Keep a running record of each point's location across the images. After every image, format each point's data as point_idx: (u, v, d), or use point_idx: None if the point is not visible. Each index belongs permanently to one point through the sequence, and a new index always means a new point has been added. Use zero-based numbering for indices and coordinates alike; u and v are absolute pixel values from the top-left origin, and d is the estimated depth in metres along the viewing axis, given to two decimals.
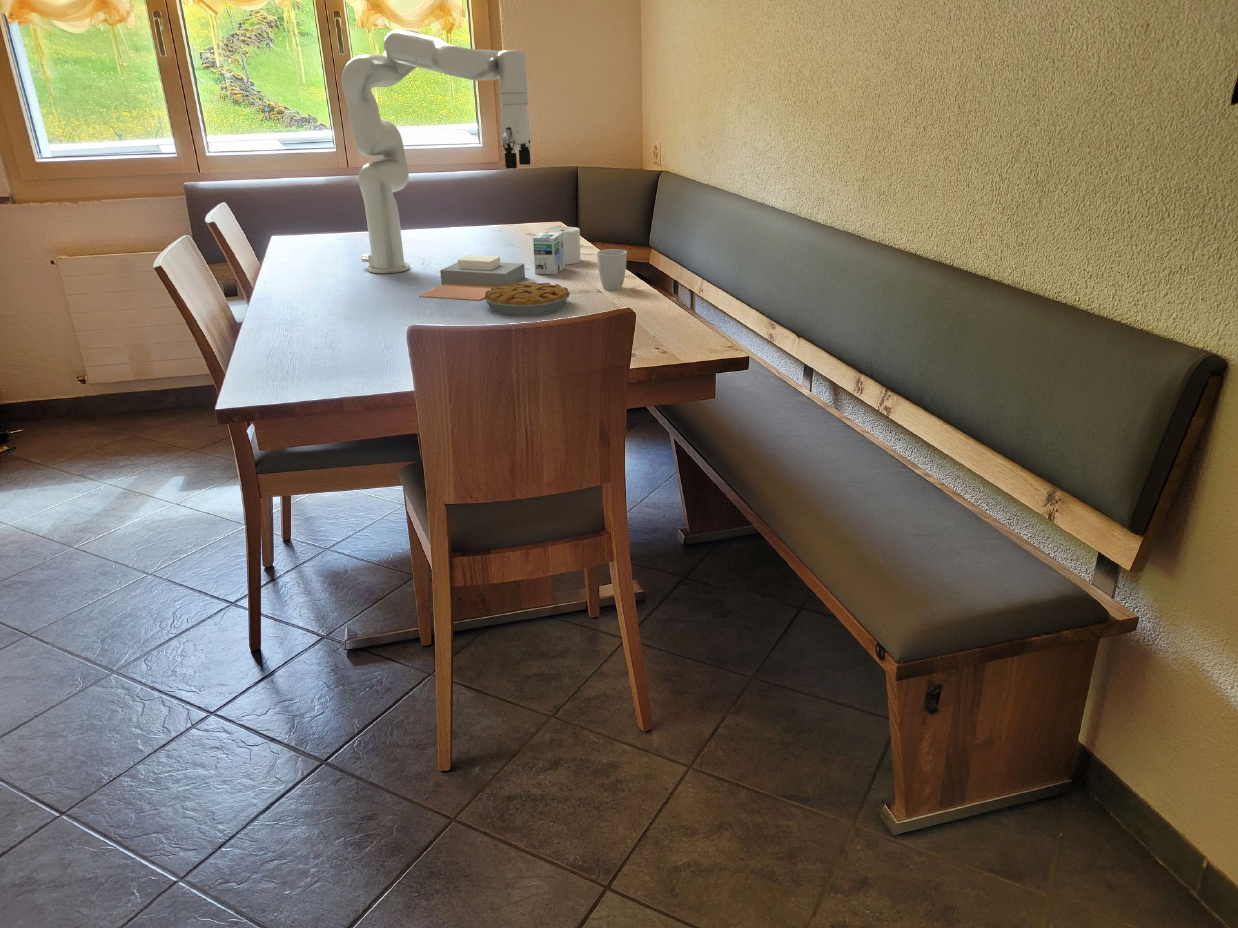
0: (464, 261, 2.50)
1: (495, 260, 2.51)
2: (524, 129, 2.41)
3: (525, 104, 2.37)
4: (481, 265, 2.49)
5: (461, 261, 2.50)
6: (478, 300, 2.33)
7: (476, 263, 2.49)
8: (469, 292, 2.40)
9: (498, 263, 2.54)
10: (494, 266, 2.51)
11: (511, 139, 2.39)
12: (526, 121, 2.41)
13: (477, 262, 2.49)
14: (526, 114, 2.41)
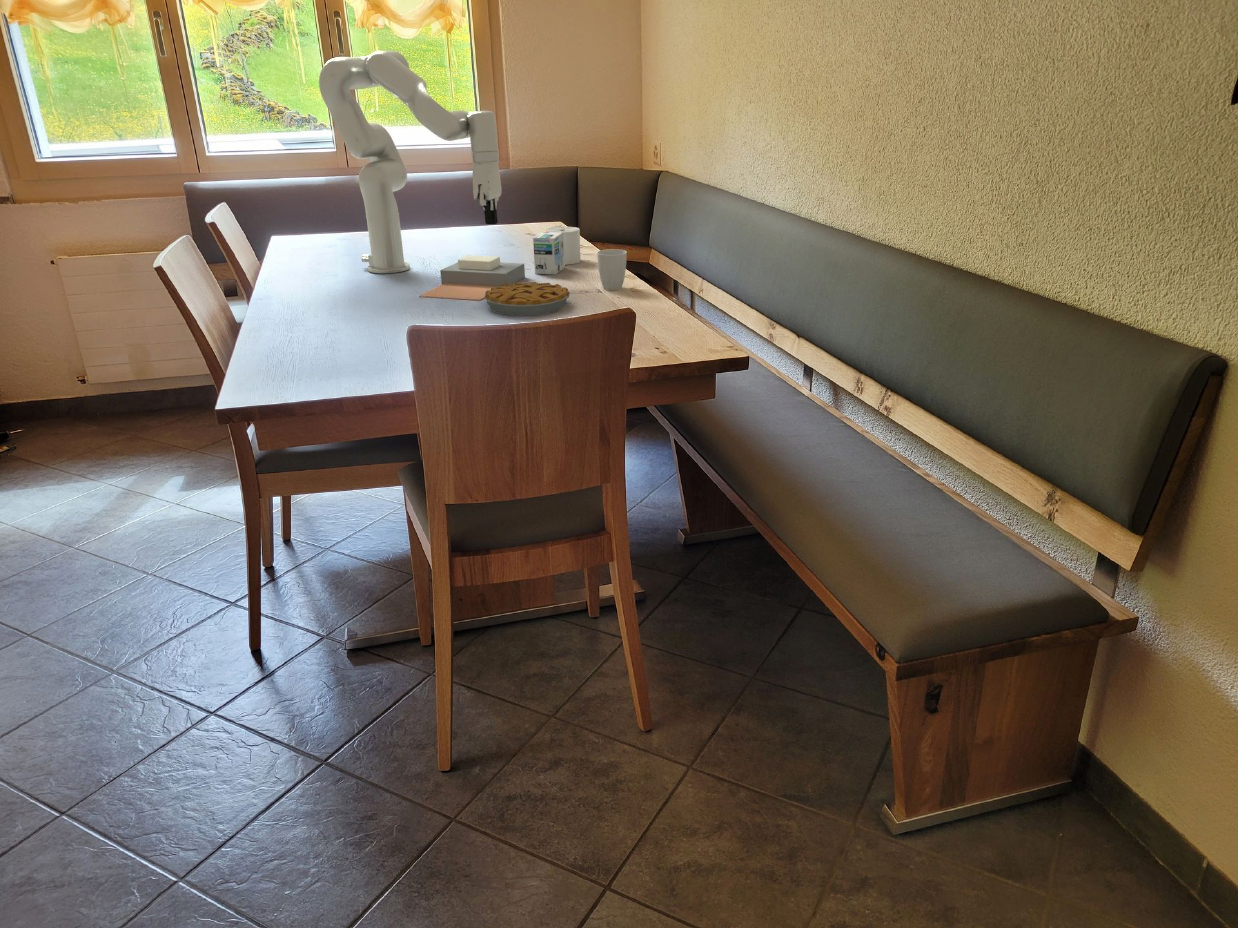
0: (464, 261, 2.50)
1: (495, 260, 2.51)
2: (496, 184, 2.52)
3: (496, 161, 2.48)
4: (481, 265, 2.49)
5: (461, 261, 2.50)
6: (478, 300, 2.33)
7: (476, 263, 2.49)
8: (469, 292, 2.40)
9: (498, 263, 2.54)
10: (494, 266, 2.51)
11: None
12: (497, 177, 2.52)
13: (477, 262, 2.49)
14: (497, 170, 2.52)
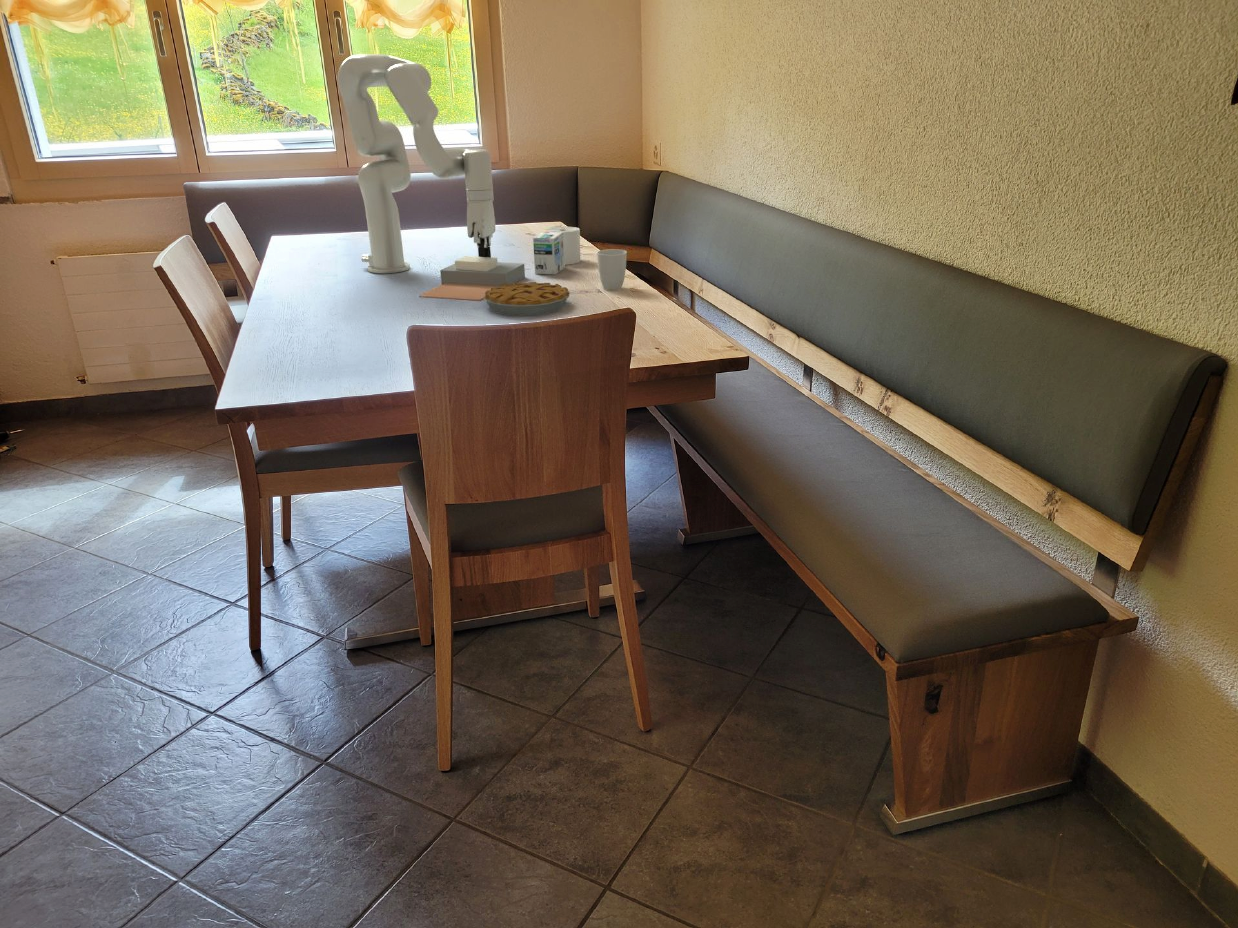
0: (461, 262, 2.49)
1: (492, 261, 2.50)
2: (490, 222, 2.51)
3: (490, 200, 2.47)
4: (478, 266, 2.48)
5: (458, 262, 2.49)
6: (478, 300, 2.33)
7: (473, 264, 2.48)
8: (469, 292, 2.40)
9: (495, 264, 2.52)
10: (491, 267, 2.50)
11: None
12: (492, 214, 2.52)
13: (474, 263, 2.48)
14: (492, 208, 2.52)
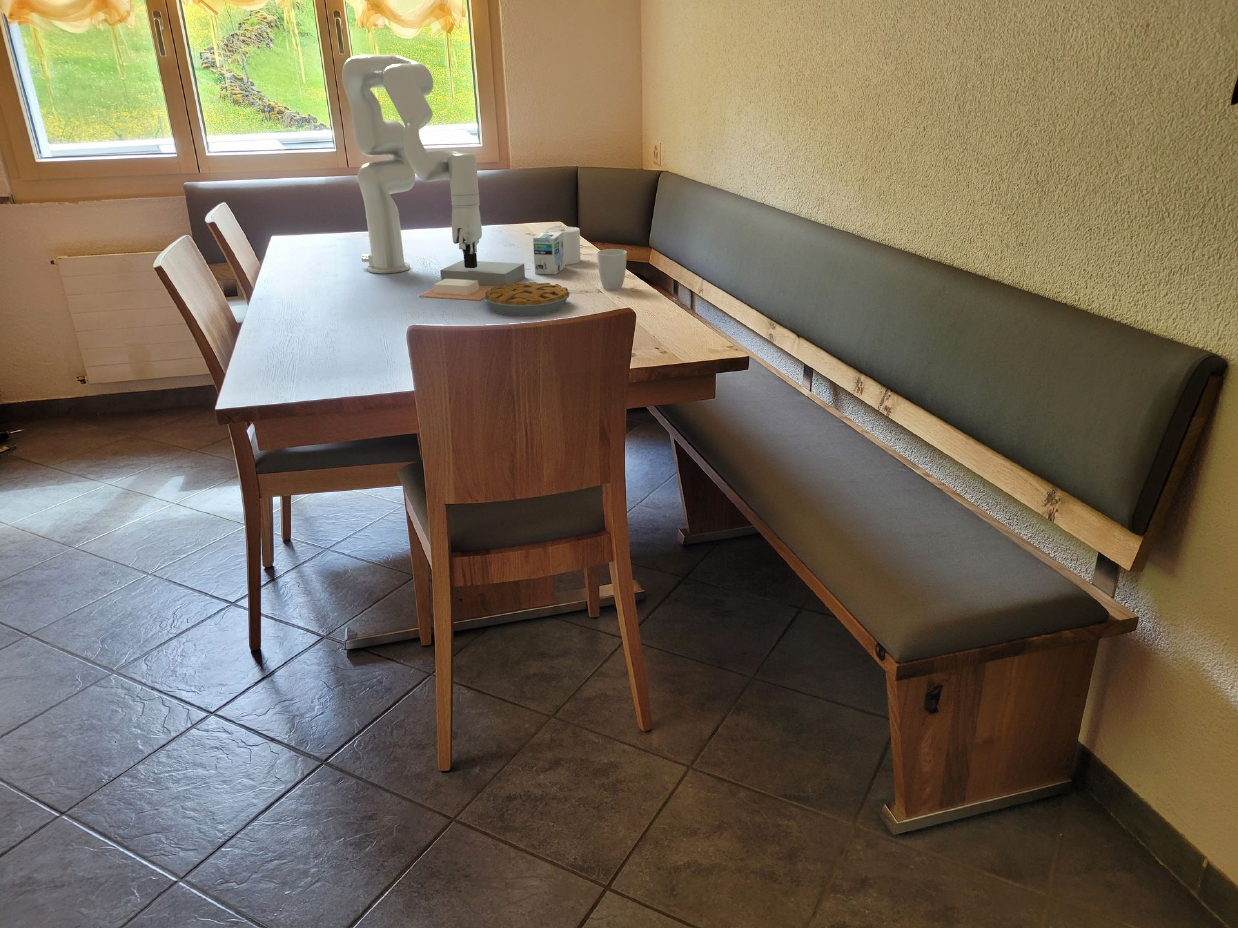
0: None
1: (473, 290, 2.41)
2: (476, 228, 2.43)
3: (476, 205, 2.39)
4: None
5: None
6: (478, 300, 2.33)
7: None
8: None
9: (469, 288, 2.38)
10: (473, 284, 2.41)
11: None
12: (478, 220, 2.44)
13: None
14: (478, 213, 2.43)
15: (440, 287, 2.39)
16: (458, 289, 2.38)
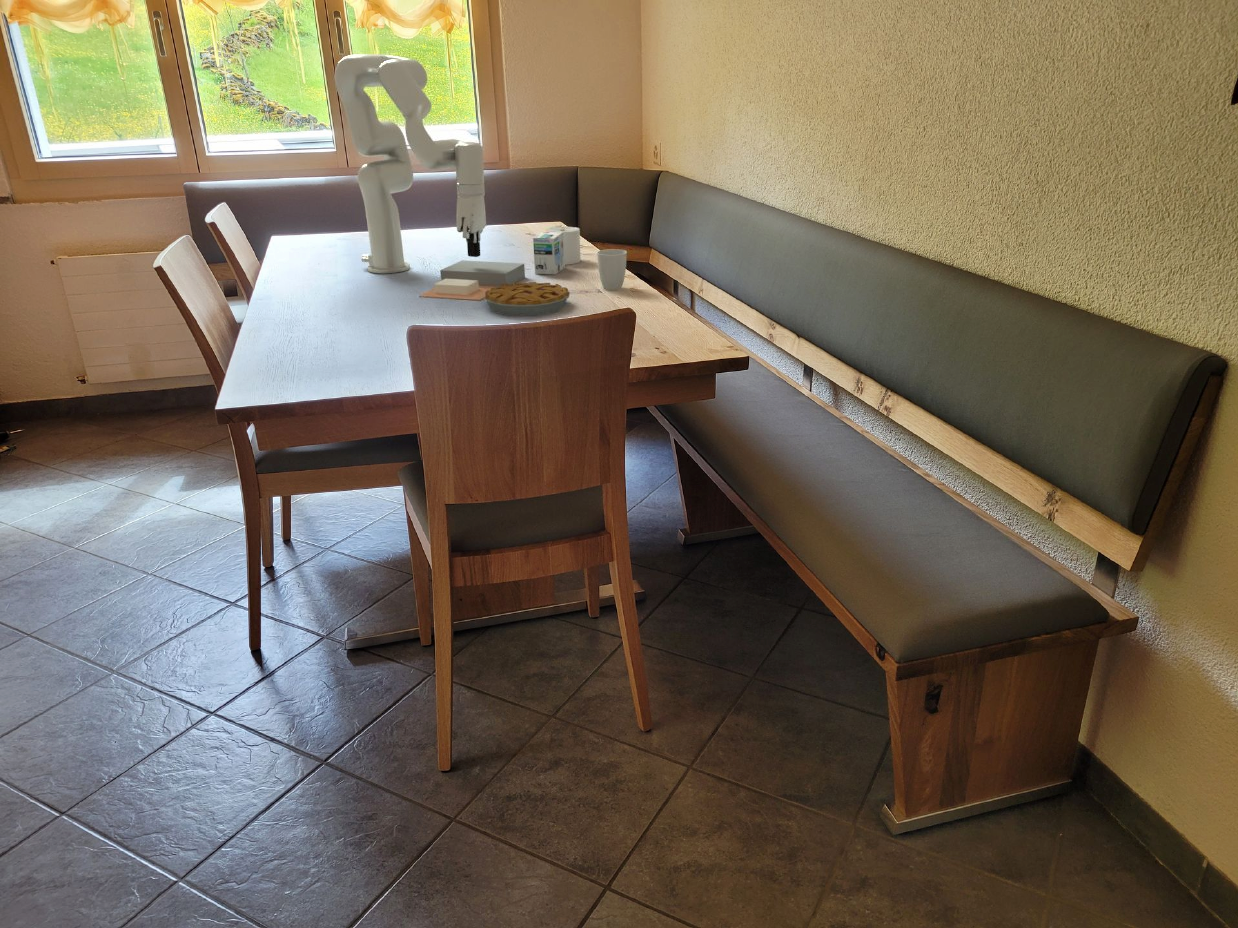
0: None
1: (473, 290, 2.41)
2: (480, 217, 2.46)
3: (481, 195, 2.42)
4: None
5: None
6: (478, 300, 2.33)
7: None
8: None
9: (469, 288, 2.38)
10: (473, 284, 2.41)
11: None
12: (482, 209, 2.47)
13: None
14: (482, 202, 2.46)
15: (440, 287, 2.39)
16: (458, 289, 2.38)
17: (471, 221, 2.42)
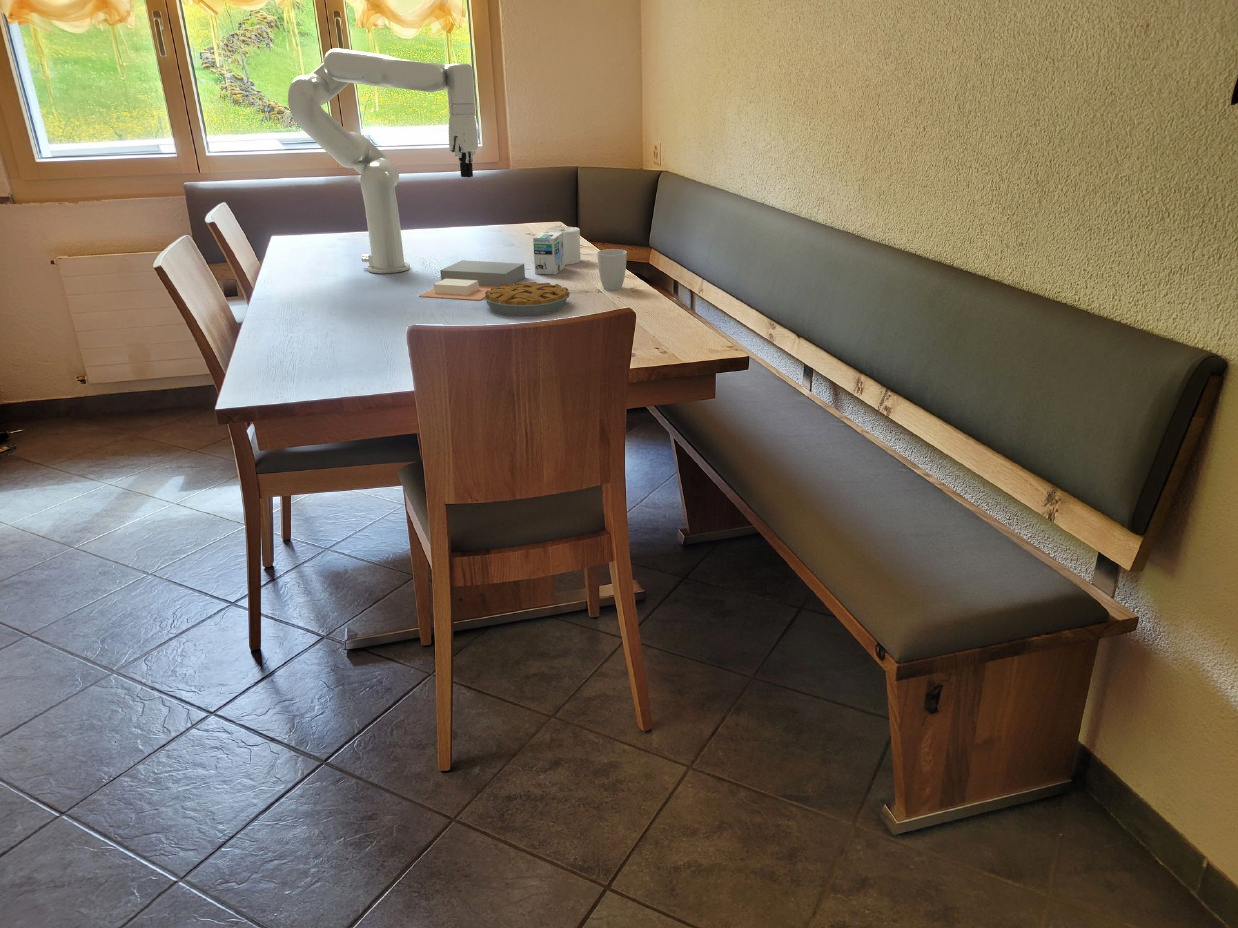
0: None
1: (473, 290, 2.41)
2: (471, 138, 2.56)
3: (472, 114, 2.52)
4: None
5: None
6: (478, 300, 2.33)
7: None
8: None
9: (469, 288, 2.38)
10: (473, 284, 2.41)
11: None
12: (474, 130, 2.56)
13: None
14: (474, 123, 2.56)
15: (440, 287, 2.39)
16: (458, 289, 2.38)
17: (463, 140, 2.52)
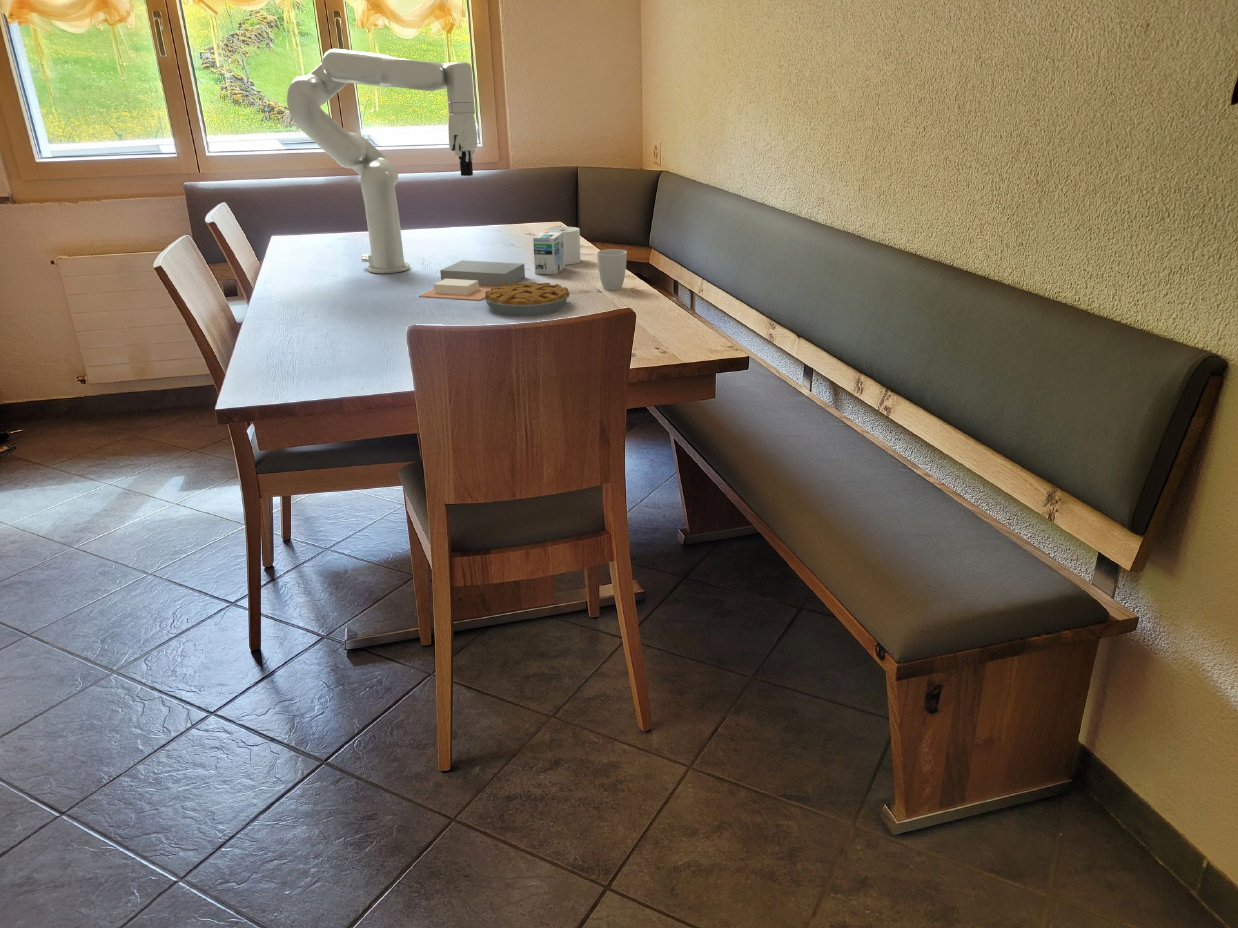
0: None
1: (473, 290, 2.41)
2: (471, 136, 2.56)
3: (471, 113, 2.52)
4: None
5: None
6: (478, 300, 2.33)
7: None
8: None
9: (469, 288, 2.38)
10: (473, 284, 2.41)
11: None
12: (473, 129, 2.57)
13: None
14: (473, 122, 2.56)
15: (440, 287, 2.39)
16: (458, 289, 2.38)
17: (463, 138, 2.52)
